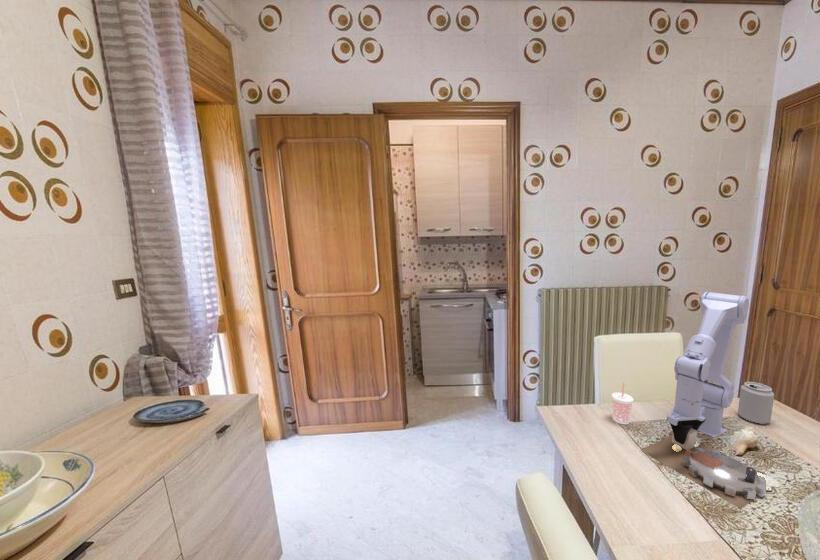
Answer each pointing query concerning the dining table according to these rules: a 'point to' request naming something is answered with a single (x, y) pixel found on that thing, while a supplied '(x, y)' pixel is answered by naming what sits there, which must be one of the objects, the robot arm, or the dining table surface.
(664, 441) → the board
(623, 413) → the beverage cup
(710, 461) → the sprocket
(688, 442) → the link block
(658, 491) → the dining table surface
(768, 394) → the can
